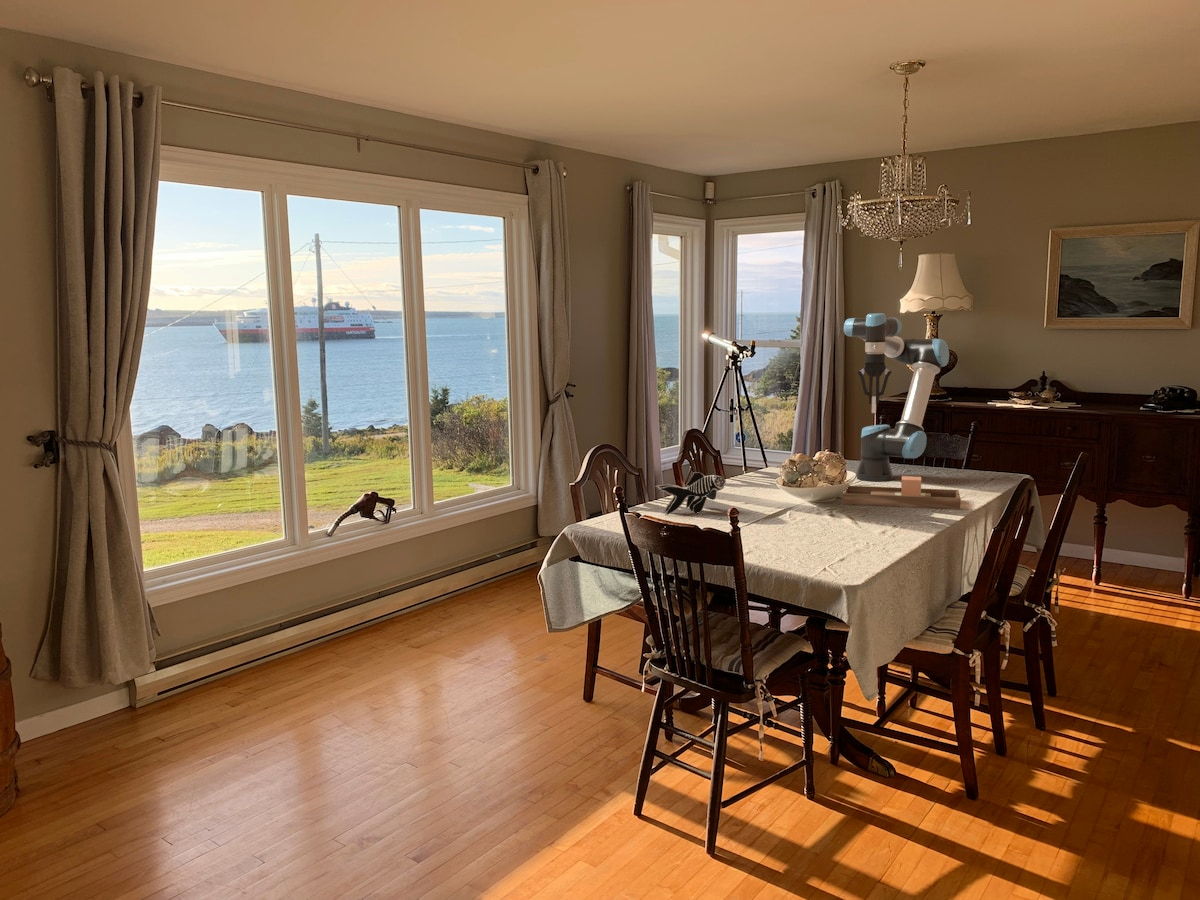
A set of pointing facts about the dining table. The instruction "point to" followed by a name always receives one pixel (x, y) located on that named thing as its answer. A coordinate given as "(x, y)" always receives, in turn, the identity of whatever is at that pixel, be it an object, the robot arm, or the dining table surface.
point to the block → (911, 486)
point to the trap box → (901, 497)
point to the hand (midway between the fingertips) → (873, 412)
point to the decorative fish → (693, 492)
